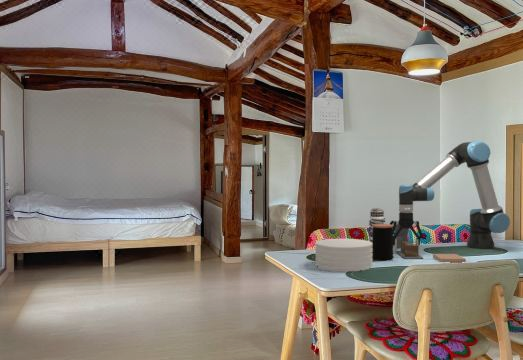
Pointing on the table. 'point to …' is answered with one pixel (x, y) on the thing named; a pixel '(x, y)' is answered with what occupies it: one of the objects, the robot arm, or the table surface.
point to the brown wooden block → (409, 249)
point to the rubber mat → (407, 257)
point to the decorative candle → (375, 220)
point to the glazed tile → (449, 258)
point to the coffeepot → (400, 235)
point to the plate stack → (343, 254)
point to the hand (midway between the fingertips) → (406, 250)
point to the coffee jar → (382, 241)
